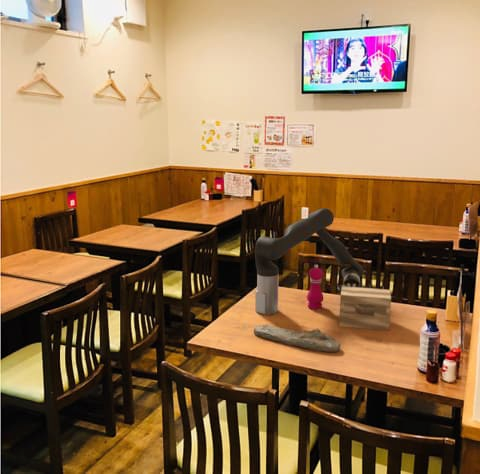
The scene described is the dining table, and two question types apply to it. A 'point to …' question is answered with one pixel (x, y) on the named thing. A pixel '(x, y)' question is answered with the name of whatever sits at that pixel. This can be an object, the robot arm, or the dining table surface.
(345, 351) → the dining table surface
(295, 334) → the long grey stone
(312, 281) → the pepper mill
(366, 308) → the wooden crate
